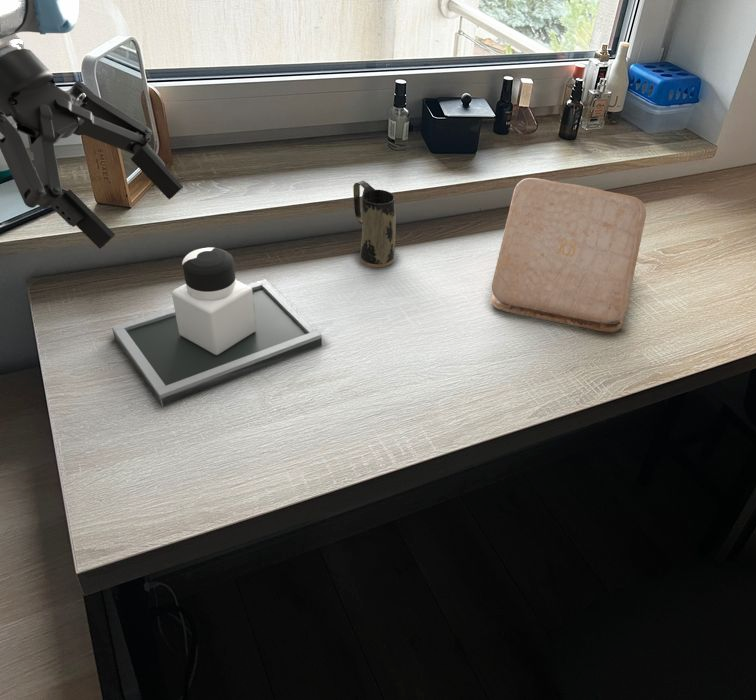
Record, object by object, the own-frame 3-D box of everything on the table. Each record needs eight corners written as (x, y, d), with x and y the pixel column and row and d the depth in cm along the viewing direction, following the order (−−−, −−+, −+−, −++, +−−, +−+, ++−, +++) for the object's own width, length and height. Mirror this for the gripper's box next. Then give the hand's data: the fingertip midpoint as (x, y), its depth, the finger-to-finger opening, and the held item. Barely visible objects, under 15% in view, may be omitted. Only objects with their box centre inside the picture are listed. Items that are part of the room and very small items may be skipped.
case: (484, 312, 109) (498, 217, 99) (511, 246, 125) (524, 159, 115) (619, 342, 106) (646, 247, 96) (628, 270, 123) (652, 183, 113)
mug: (401, 260, 118) (404, 192, 111) (376, 271, 115) (378, 203, 107) (368, 240, 122) (369, 174, 115) (343, 251, 118) (342, 184, 111)
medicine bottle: (257, 331, 98) (249, 254, 90) (216, 357, 93) (205, 278, 85) (220, 311, 100) (209, 235, 93) (178, 335, 95) (163, 257, 88)
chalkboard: (162, 407, 87) (159, 394, 86) (114, 338, 96) (111, 326, 95) (322, 345, 99) (321, 334, 98) (266, 289, 108) (265, 278, 107)
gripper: (62, 58, 92) (185, 190, 99) (-110, 123, 73) (58, 281, 80) (89, 21, 88) (216, 161, 95) (-85, 79, 69) (89, 249, 76)
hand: (144, 216), depth 87 cm, fingers open, 13 cm apart
